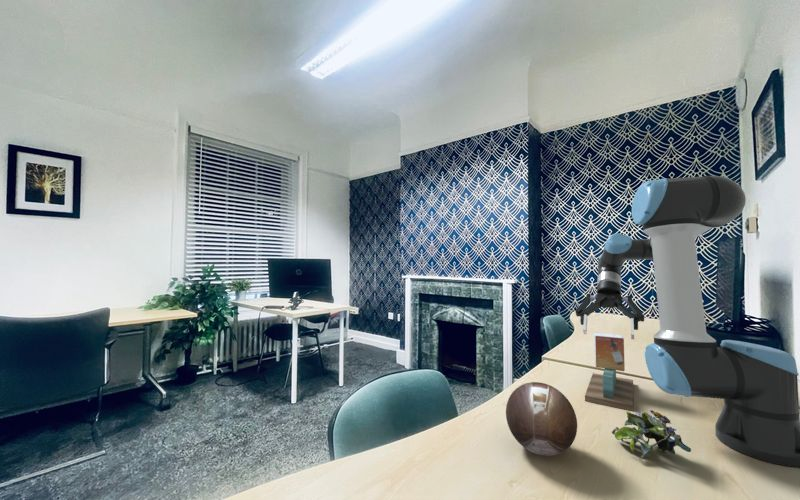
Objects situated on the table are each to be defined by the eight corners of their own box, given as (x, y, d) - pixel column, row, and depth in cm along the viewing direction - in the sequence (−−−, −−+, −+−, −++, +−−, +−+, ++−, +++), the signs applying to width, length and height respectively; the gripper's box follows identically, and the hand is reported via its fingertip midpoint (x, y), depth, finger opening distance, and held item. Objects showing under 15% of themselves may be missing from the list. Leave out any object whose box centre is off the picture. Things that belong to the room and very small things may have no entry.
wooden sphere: (514, 469, 68) (512, 396, 68) (501, 431, 82) (500, 372, 83) (590, 474, 66) (588, 399, 66) (563, 434, 80) (561, 374, 81)
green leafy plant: (662, 475, 73) (703, 444, 68) (639, 483, 67) (682, 450, 63) (619, 427, 82) (653, 397, 77) (596, 431, 76) (631, 398, 72)
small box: (595, 367, 105) (594, 335, 106) (594, 363, 110) (593, 332, 111) (625, 371, 102) (624, 338, 102) (622, 366, 106) (621, 334, 107)
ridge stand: (632, 411, 92) (631, 382, 93) (584, 400, 99) (584, 374, 100) (633, 384, 112) (632, 360, 112) (593, 377, 119) (592, 355, 119)
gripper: (650, 294, 116) (654, 345, 103) (572, 291, 131) (568, 336, 118) (650, 280, 112) (655, 332, 99) (570, 279, 127) (565, 324, 114)
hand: (607, 334), depth 109 cm, fingers open, 13 cm apart
